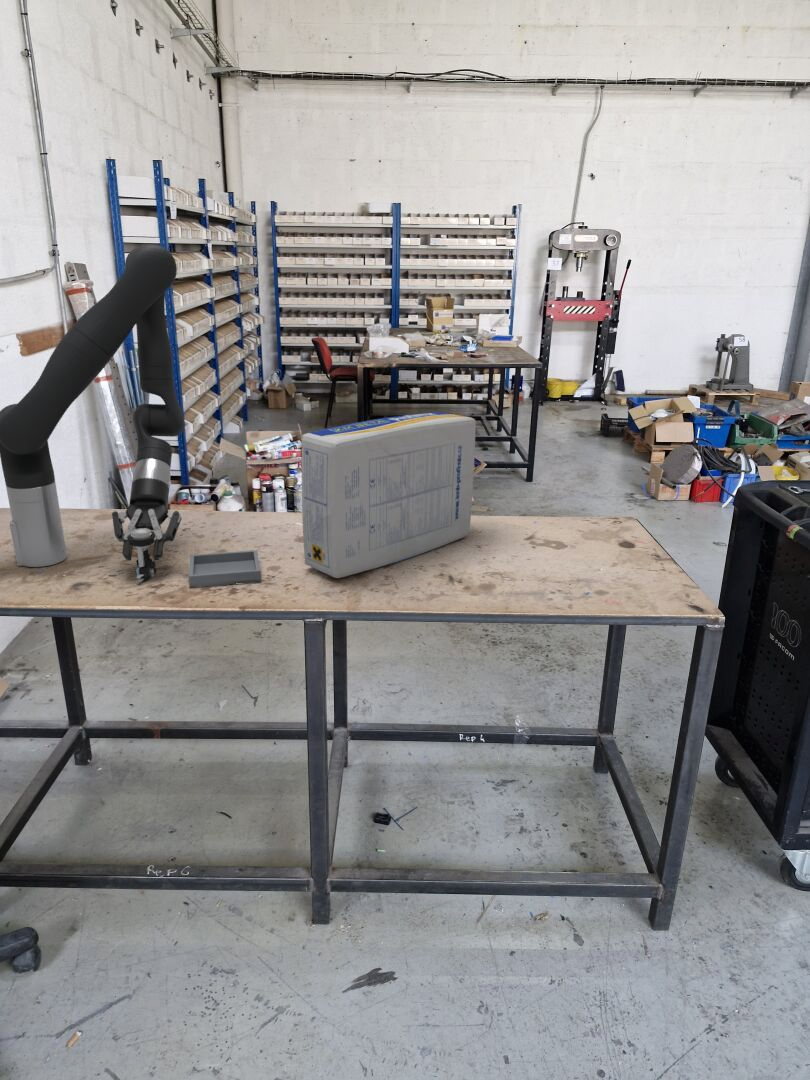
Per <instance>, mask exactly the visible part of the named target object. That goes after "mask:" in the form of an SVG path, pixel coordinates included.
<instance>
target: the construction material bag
mask: <svg viewBox="0 0 810 1080" xmlns="http://www.w3.org/2000/svg"><path fill="white" fill-rule="evenodd" d="M475 450H476V419H475V418H473V417H470V416H466V415H465V416H464V415H460V414H454V413H449V412H443V411H438V412H437V411H436V412H427V413H416V414H408V415H407V414H406V415H398V416H389V417H381V418H375V419H369V420H364V421H359V422H353V423H347V424H343V425H339V426H333V427H329V428H325V429H321V430H316V431H315V430H314V431H309V432H307V433H305V434H302V435H301V511H302V513H301V514H302V515H301V516H302V536H303V537H302V538H303V553H304V564H305V565H306V566H309V567H310V568H313V569H315V570H317V571H319V572H322V573H324V574H326V575H328V576H330V577H333V578H335V579H340V578H345V577H348V576H353V575H355V574H359V573H363V572H366V571H370V570H374V569H377V568H381V567H384V566H387V565H391V564H394V563H398V562H400V561H405V560H406V559H410V558H413V557H416V556H418V555H422V554H425V553H427V552H429V551H432V550H435V549H438V548H440V547H443V546H445V545H448V544H450V543H452V542H455V541H457V540H459V539H462V538H465V537H467V536H468V535H469V534H470V528H471V520H472V519H471V517H472V505H473V504H472V503H473V493H474V492H473V491H474V490H473V489H474V475H475V473H474V472H475V471H474V470H475V455H476V454H475Z"/></svg>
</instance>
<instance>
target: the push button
mask: <svg viewBox="0 0 810 1080" xmlns="http://www.w3.org/2000/svg"><path fill="white" fill-rule="evenodd" d="M131 533H132V534H130V535H128V536H127V539H128V540H129V543H130V545H131V546H133V548H136V551H137V553H136V554H137V559H136V560H135V561H136V562H135V563H136V570H135V571H136V577H135V578H136V579H137V581H136V582H137V583H141V582H147V581H148V580H149V579H150V578H153V577H154V576H155V575H156V573H157V569H156V562H155V561H156V560H153V558H151V554H150V548H149V547H150V546H152V545H154V542H155V538H156V535H155V532H154V531H151V530H149V529H147V528H139V529H135V530H133V531H132V532H131Z"/></svg>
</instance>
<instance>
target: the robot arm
mask: <svg viewBox="0 0 810 1080" xmlns="http://www.w3.org/2000/svg"><path fill="white" fill-rule="evenodd" d="M124 268H125V269H124V270H123V272H122V274H121V275H120V277H119V278H118V280H117V281H116V282H115V284H113V287H112V288H111V289H110V290H109V291H108V292H107V293H106V294H105V295H103V297H102V298H101V299H99V300H98V301H97V302H96V303H95V304H94V305H93V306H91V307H89V309H87V311H86V312H85V313H83V314H82V315H81V316H80V317H79V318H78V320H76V321H75V322H74V323H73V325H72V326H71V327H70V329H68V331H67V332H66V333H65V334H64V336H63V337H62V338H61V339H60V341H59V343H58V344H57V346H56V347H55V348H54V350H53V352H52V353H51V355H50V357H49V358H48V360H47V363H46V364H45V367H44V368H43V370H42V372H41V374H40V376H39V378H38V379H37V381H36V383H35V384H34V385H33V386H32V387H31V389H30V390H29V391H28V392H27V393H26V394H25V395H24V396H23V398H21V400H19V402H17V403H13V404H9V405H7V406H5V407H4V408H2V409H1V410H0V462H1V468H2V472H3V478H4V483H5V488H6V493H7V494H6V495H7V498H8V504H9V510H10V516H11V521H10V523H9V529H10V532H11V539H12V544H13V550H14V555H15V560H16V566H17V567H21V566H24V567H30V568H39V567H41V568H42V567H47V566H52V565H55V564H59V563H61V562H63V561H65V560H66V559H67V558H68V554H67V546H66V541H65V534H64V527H63V521H62V516H61V510H60V509H61V508H60V503H59V498H58V497H59V496H58V492H57V484H56V477H55V471H54V466H53V463H52V458H51V453H50V447H49V439H50V437H51V435H52V433H53V432H54V430H55V428H56V427H57V425H58V423H59V422H60V421H61V419H62V418H63V417H64V415H65V413H66V412H67V410H68V409H69V408H70V406H71V405H72V404H73V403H74V402H75V401H76V399H78V397H80V395H81V394H83V393H84V391H85V390H86V389H87V388H88V387H89V386H90V384H91V383H92V382H93V381H94V380H95V379H96V378H97V377H98V375H100V373H101V372H102V371H103V370H104V368H105V367H106V366H107V364H108V363H109V362H110V361H111V360H112V358H113V357H114V356H115V354H116V353H117V351H118V350H119V349H120V348H121V346H122V345H123V343H124V342H125V340H126V339H127V338H128V337H129V335H130V333H131V332H132V330H133V328H134V327H136V341H137V357H138V359H137V363H138V375H139V386H140V390H142V392H144V393H147V394H151V395H155V396H158V397H159V398H161V399H162V401H163V402H164V404H162V403H159V404H158V403H157V404H156V403H143V404H142V403H141V404H139V405H138V406H137V407H136V408H135V410H134V412H133V425H134V428H135V433H136V439H137V455H136V461H135V466H134V470H133V475H132V481H131V489H130V496H129V505H128V507H127V508H126V510H125V511H121V512H118V511H115V510H114V511H113V512H111V518H112V522H113V523H112V525H113V532H114V536H115V538H116V539H117V540H118V541H119V542H120V543H123V545H122V552H121V553H122V556H123V558H124V559H125V560H126V561H128V562H129V561H132V557H133V551H134V550H133V549H134V546H131V545H130V543H129V540H128V539H127V536H128V535H130V534H132V533H131V532H132V531H133V530H135V529H139V528H147V529H149V530H150V531H153V533H155V538H156V539H154V543H153V549H152V550H153V552H152V559H153V561H159V560H160V559H161V558H162V557H163V556H164V555H163V554H164V546H165V543H167V542H174V540H175V538H176V535H177V532H178V531H179V527H180V524H181V522H182V518H183V517H182V516H181V513H180V512H179V511H178V510H175V511H169V510H168V505H169V495H170V488H171V467H172V466H171V465H172V455H173V447H172V445H171V444H170V443H169V442H168V441H167V440H164V439H161V438H158V437H171V438H172V437H173V438H174V437H178V436H180V434H182V433H183V431H184V427H185V417H184V415H183V411H182V409H181V406H180V403H179V399H178V397H177V393H176V390H175V389H176V388H175V382H174V367H173V365H174V364H173V353H172V346H171V342H170V341H171V340H170V337H169V333H168V329H167V328H168V327H167V322H166V312H165V311H166V309H165V307H166V305H165V301H166V300H165V297H166V292H167V291H168V290H169V288H171V287H172V286H173V284H174V282H175V280H176V277H177V271H178V269H177V261H176V259H175V258H174V256H173V254H172V252H170V250H168V249H166V247H163V246H161V245H158V244H151V243H149V244H142V245H139V246H136V247H134V248H133V249H131V250H130V251H129V252H128V254H127V255H126V258H125V262H124ZM127 518H128V519H129V523H128V525H127V529H126V531H125V533H124V526H123V524H124V523H125V522H126V519H127ZM167 519H168V522H169V524H168V525H167V529H166V530H165V531H166V532H164V533H163V530H162V529H163V528H162V526H161V525H162V524H163V523H164V522H165V521H166V520H167Z"/></svg>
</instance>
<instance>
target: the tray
mask: <svg viewBox="0 0 810 1080" xmlns="http://www.w3.org/2000/svg"><path fill="white" fill-rule="evenodd" d="M259 559H260V558H259V554H258V549H256V550H255V549H253V550H242V551H241V550H240V551H228V552H227V551H226V552H214V553H213V552H211V553H210V552H209V553H197V554H190V556H189V569H188V583H189V589H192V588H193V589H194V588H195V587H196V588H207V587H206V586H208V587H219V586H230V585H229V584H233V585H237V584H236V583H245V584H252V583H251V582H257V583H262V574H261V566H260V560H259Z"/></svg>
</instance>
